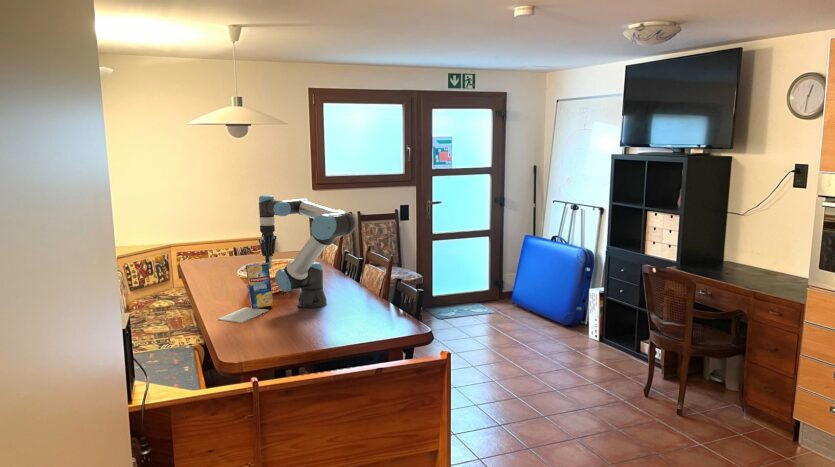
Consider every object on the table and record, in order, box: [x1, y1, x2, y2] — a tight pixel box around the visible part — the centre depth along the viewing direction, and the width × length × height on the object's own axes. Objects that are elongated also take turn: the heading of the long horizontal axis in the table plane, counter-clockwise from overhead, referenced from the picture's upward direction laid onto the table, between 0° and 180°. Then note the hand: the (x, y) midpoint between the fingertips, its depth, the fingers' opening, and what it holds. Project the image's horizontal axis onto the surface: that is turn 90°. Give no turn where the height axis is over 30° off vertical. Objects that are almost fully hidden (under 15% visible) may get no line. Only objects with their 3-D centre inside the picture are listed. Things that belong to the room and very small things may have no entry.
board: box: [217, 306, 270, 324], centre depth 293 cm, size 14×22×1 cm, turn 160°
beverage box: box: [245, 261, 274, 309], centre depth 307 cm, size 7×11×22 cm, turn 112°
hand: (268, 268), depth 313 cm, fingers closed
